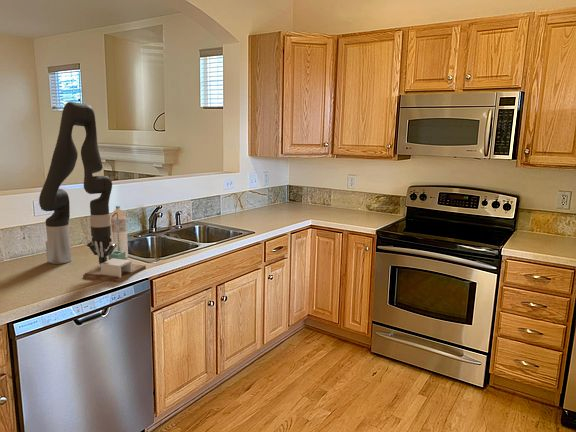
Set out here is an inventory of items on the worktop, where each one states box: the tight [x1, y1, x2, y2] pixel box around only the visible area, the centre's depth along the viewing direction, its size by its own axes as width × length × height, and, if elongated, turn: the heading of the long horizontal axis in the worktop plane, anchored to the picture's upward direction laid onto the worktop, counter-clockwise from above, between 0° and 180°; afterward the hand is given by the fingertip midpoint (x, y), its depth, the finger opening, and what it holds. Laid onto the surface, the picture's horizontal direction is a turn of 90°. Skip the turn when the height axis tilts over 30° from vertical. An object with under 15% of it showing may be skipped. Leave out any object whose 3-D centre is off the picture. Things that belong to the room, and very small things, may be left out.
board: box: [82, 263, 147, 283], centre depth 187 cm, size 17×19×6 cm
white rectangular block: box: [99, 258, 133, 278], centre depth 182 cm, size 9×8×5 cm
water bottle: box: [110, 205, 129, 259], centre depth 208 cm, size 7×7×25 cm
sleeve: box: [107, 251, 127, 260], centre depth 193 cm, size 5×5×6 cm
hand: (103, 265), depth 183 cm, fingers closed
